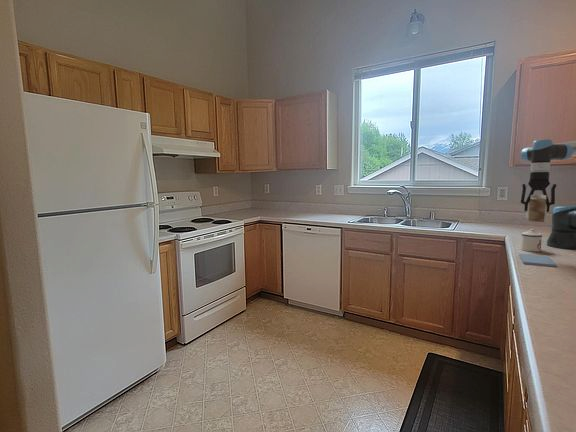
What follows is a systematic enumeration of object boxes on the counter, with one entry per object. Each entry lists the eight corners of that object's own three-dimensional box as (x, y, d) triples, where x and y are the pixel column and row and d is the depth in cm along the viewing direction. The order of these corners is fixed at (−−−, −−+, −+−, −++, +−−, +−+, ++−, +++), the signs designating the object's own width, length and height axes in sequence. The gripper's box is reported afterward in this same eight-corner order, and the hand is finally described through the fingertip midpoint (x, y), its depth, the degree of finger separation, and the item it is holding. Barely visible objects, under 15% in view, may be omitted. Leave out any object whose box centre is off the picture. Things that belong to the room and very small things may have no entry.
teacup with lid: (541, 252, 170) (543, 231, 168) (520, 250, 175) (521, 229, 174) (540, 248, 179) (542, 227, 178) (520, 246, 185) (522, 226, 183)
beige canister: (542, 220, 163) (544, 194, 161) (544, 221, 157) (546, 195, 156) (527, 219, 166) (529, 194, 164) (528, 221, 161) (531, 195, 159)
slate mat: (548, 257, 159) (548, 255, 159) (556, 266, 144) (556, 264, 144) (518, 255, 165) (519, 253, 165) (523, 263, 150) (523, 261, 150)
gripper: (516, 171, 160) (513, 217, 163) (566, 171, 151) (561, 220, 153) (515, 172, 167) (512, 216, 169) (563, 171, 157) (558, 218, 160)
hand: (535, 218), depth 161 cm, fingers closed on beige canister, 6 cm apart
